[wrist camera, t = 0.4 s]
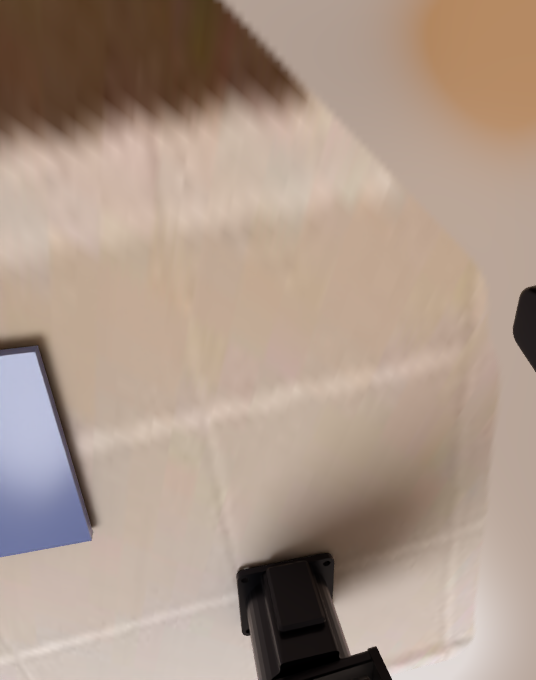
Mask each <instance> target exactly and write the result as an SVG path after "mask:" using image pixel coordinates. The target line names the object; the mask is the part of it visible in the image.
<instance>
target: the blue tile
mask: <svg viewBox="0 0 536 680" xmlns="http://www.w3.org/2000/svg"><path fill="white" fill-rule="evenodd" d="M92 535H93V530H92V527H91V524H90V520H89V517H88V513H87V510H86V507H85V503H84V500H83V496H82V493H81V490H80V486H79V483H78V480H77V476H76V473H75V469H74V466H73V463H72V459H71V456H70V452H69V449H68V446H67V442H66V439H65V436H64V432H63V429H62V425H61V422H60V419H59V415H58V412H57V408H56V405H55V402H54V398H53V395H52V391H51V388H50V385H49V381H48V378H47V375H46V371H45V368H44V364H43V361H42V358H41V354H40V351H39V347H38V345H37V346H29V347H20V348H12V349H4V350H0V557H4V556H10V555H15V554H21V553H26V552H32V551H37V550H43V549H48V548H54V547H59V546H65V545H70V544H76V543H81V542H86V541H92Z"/></svg>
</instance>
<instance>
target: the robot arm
mask: <svg viewBox="0 0 536 680" xmlns="http://www.w3.org/2000/svg"><path fill="white" fill-rule="evenodd" d="M513 335H514V338H515V341H516V343H517V344H518V346H519V347H520V349H521V350H522V352H523V353H524V355H525V357H526V358H527V359H528V361H529V362H530V364H531V365H532V367H533V368H534V370H535V372H536V286H532V287H528V288H526V289H524V290H523V291H522V293H521V295H520V297H519V302H518V306H517V311H516V316H515V321H514V325H513ZM333 575H334V560H333V557H332V555H331V554H330V553H324V554H319V555H314V556H309V557H304V558H299V559H294V560H289V561H284V562H279V563H274V564H269V565H264V566H260V567H255V568H250V569H245V570H241V571H239V572H238V573H237V575H236V578H237V588H238V598H239V608H240V618H241V628H242V633H243V635H246V636H249V635H251V641H252V647H253V653H254V658H255V664H256V670H257V676H258V680H392V678H391V676H390V674H389V672H388V670H387V668H386V666H385V664H384V662H383V659H382V657H381V655H380V653H379V651H378V649H377V647H376V646H375V647H372V648H369V649H368V651H365V652H362V653H359V654H355V655H352V656H351V655H350V652H349V649H348V646H347V643H346V640H345V637H344V634H343V631H342V628H341V625H340V622H339V619H338V616H337V613H336V610H335V607H334V604H333V602H332V597H333Z"/></svg>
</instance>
